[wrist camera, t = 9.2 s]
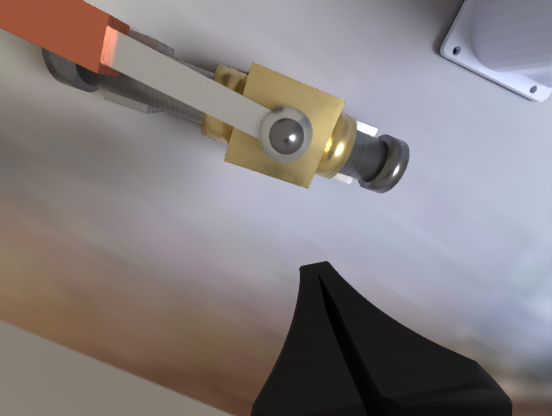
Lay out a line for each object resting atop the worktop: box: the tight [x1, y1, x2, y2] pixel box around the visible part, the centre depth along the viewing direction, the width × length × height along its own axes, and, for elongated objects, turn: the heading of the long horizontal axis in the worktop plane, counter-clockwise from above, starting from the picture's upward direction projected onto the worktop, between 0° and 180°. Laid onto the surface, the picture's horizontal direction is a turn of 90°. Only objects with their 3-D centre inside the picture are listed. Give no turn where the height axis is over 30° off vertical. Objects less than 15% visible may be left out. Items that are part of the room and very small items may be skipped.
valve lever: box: [0, 0, 313, 163], centre depth 11 cm, size 14×3×2 cm, turn 64°
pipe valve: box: [42, 29, 409, 193], centre depth 16 cm, size 20×5×6 cm, turn 70°
